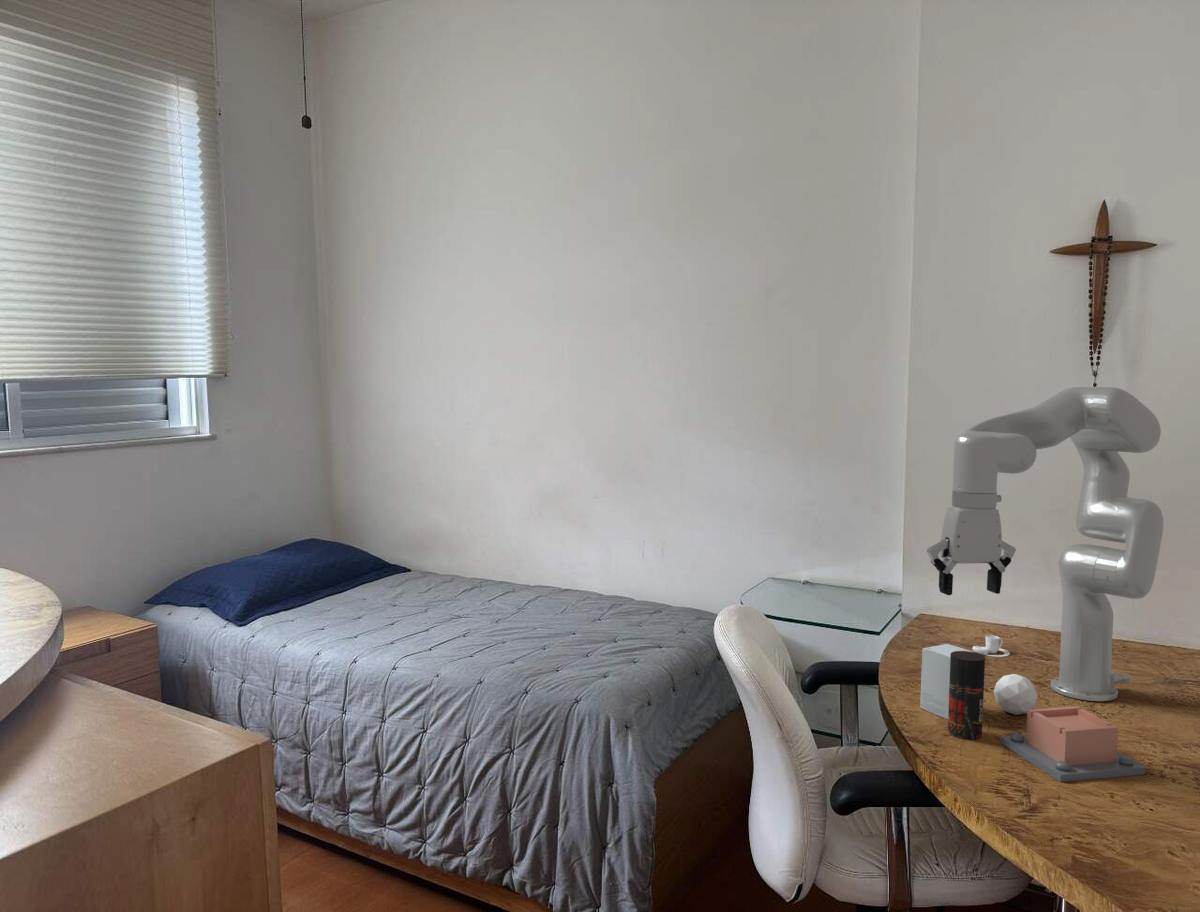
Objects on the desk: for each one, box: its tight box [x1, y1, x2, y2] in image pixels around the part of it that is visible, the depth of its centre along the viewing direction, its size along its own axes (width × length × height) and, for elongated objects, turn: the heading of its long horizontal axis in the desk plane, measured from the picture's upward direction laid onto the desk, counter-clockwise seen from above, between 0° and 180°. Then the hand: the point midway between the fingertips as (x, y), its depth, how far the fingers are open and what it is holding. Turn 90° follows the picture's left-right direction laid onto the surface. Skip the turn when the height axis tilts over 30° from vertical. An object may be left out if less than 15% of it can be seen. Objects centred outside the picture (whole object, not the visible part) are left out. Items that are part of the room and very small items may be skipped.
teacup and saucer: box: [972, 634, 1011, 658], centre depth 216 cm, size 9×8×4 cm
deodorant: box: [947, 650, 986, 741], centre depth 166 cm, size 6×6×15 cm
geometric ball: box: [993, 673, 1038, 716], centre depth 177 cm, size 8×8×8 cm
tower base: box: [1000, 705, 1146, 783], centre depth 155 cm, size 16×16×7 cm
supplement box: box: [919, 643, 973, 720], centre depth 177 cm, size 7×7×13 cm
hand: (969, 592), depth 164 cm, fingers open, 9 cm apart
